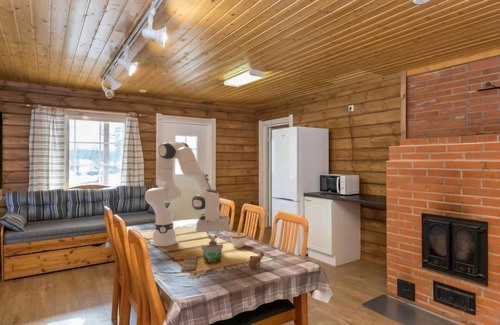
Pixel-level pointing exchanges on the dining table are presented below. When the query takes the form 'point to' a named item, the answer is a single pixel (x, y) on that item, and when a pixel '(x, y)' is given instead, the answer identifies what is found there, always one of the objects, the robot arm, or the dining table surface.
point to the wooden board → (189, 264)
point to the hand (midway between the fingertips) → (212, 238)
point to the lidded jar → (238, 239)
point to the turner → (213, 240)
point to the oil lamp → (255, 260)
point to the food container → (212, 253)
